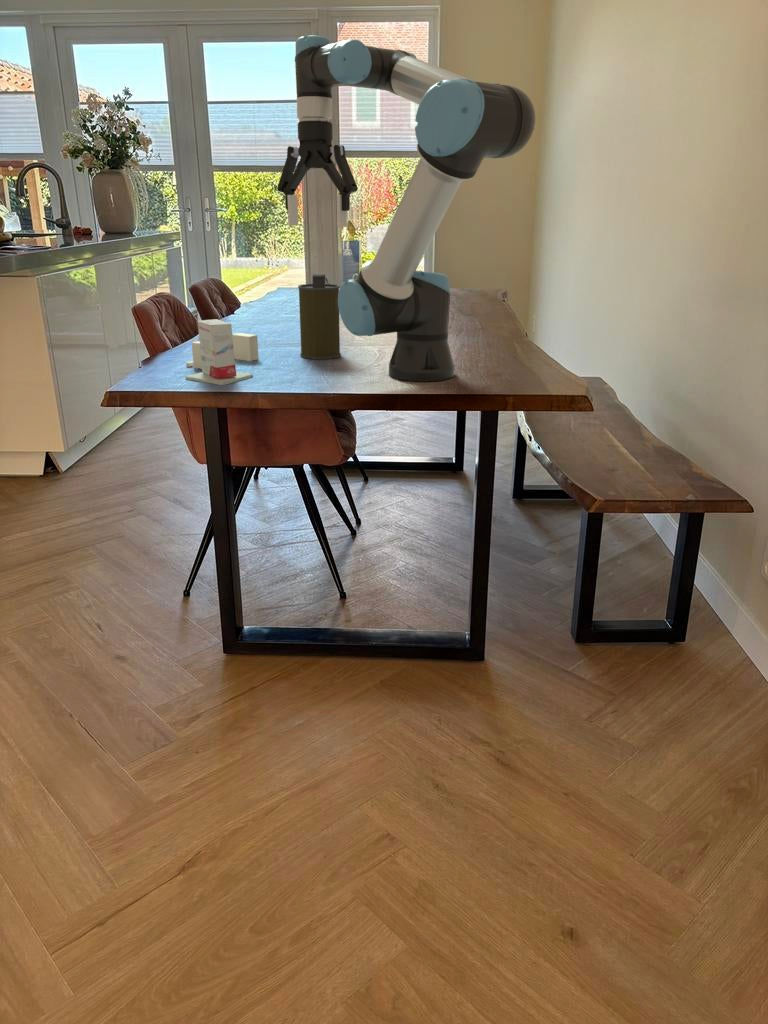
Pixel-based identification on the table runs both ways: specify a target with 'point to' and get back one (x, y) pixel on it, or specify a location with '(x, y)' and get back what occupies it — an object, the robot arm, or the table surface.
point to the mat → (223, 381)
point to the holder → (242, 346)
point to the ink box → (216, 348)
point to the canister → (319, 319)
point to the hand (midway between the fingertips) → (317, 226)
